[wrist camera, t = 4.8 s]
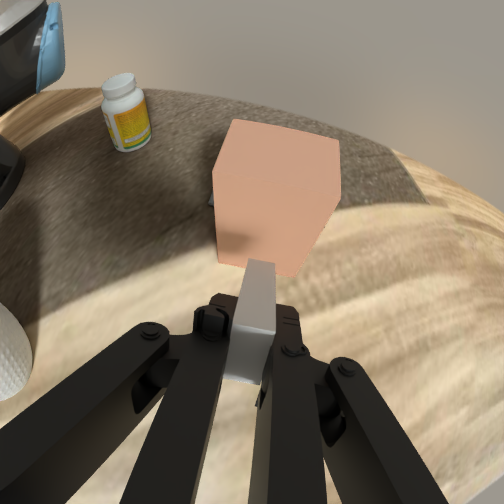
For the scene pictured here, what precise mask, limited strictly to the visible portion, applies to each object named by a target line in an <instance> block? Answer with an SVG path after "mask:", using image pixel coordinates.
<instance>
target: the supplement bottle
mask: <svg viewBox="0 0 504 504" xmlns="http://www.w3.org/2000/svg"><path fill="white" fill-rule="evenodd" d="M101 88H102V92H103V96H104V97H105V98H104V100H103V102H102V105H101V108H102V112H103V115H104V118H105V121H106V124H107V127H108V130H109V133H110V136H111V139H112V141H113V144H114V146H115V148H116V149H117V150H119V151H121V152H131V151H134V150H137V149H140V148H141V147H143V146H144V145H146V144H147V143H148V141H149V140H150V138H151V128H150V123H149V118H148V113H147V108H146V103H145V98H144V94H143V91H142V90H141V89H140V88H138V87H136V81H135V76H134V75H133V74H132V73H123V74H119V75H116V76H114V77H111V78H110V79H108V80H107V81H105V82H104V83H103V85H102V87H101Z"/></svg>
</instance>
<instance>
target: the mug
mask: <svg viewBox="0 0 504 504" xmlns="http://www.w3.org/2000/svg"><path fill="white" fill-rule="evenodd" d="M31 369H32V351H31V346H30V343H29V340H28V338H27V335H26V333H25V331H24V330H23V328H22V326H21V325H20V323H19V322H18V320H17V319H16V318H15V317H14V315H13V314H12V313H11V312H9V310H8V309H7V308H6V307H5V306H3V305H2V304H1V302H0V401H1V400H5V399H7V398H10V397H12V396H13V395H15V394H17V392H19V391H20V390H21V389H22V388H23V387H24V385H25V384H26V382H27V381H28V379H29V377H30V374H31Z"/></svg>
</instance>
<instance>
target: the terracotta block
mask: <svg viewBox="0 0 504 504" xmlns="http://www.w3.org/2000/svg"><path fill="white" fill-rule="evenodd" d="M212 176H213V193H214V209H215V223H216V237H217V249H218V261H219V263H222V264H227V265H232V266H237V267H242V268H246V267H247V263H248V259H249V258H251V259H256V260H261V261H266V262H271V263H275V274H277V275H283V276H288V277H293V278H294V277H295V276H296V274H297V272H298V271H299V269H300V268H301V266H302V264H303V263H304V261H305V259H306V258H307V256H308V254H309V253H310V251H311V249H312V248H313V246H314V244H315V242H316V241H317V239H318V237H319V236H320V234H321V232H322V230H323V229H324V227H325V225H326V224H327V222H328V220H329V218H330V217H331V215H332V213H333V211H334V209H335V208H336V206H337V204H338V202H339V201H340V199H341V177H340V154H339V140H335V139H332V138H328V137H324V136H320V135H316V134H312V133H308V132H304V131H299V130H295V129H290V128H285V127H280V126H275V125H270V124H264V123H258V122H252V121H246V120H239V119H233V121H232V123H231V126H230V128H229V130H228V133H227V135H226V138H225V140H224V143H223V145H222V148H221V150H220V153H219V155H218V158H217V160H216V163H215V166H214V168H213V171H212Z"/></svg>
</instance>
